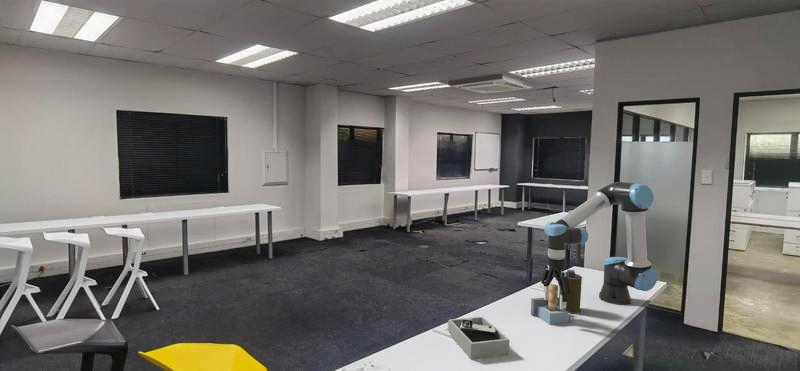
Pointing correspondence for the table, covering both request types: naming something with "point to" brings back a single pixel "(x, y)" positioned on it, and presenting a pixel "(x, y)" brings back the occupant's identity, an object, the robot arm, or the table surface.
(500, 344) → the tray
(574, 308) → the canister
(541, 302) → the wall
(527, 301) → the table surface
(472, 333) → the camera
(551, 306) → the dowel
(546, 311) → the block
